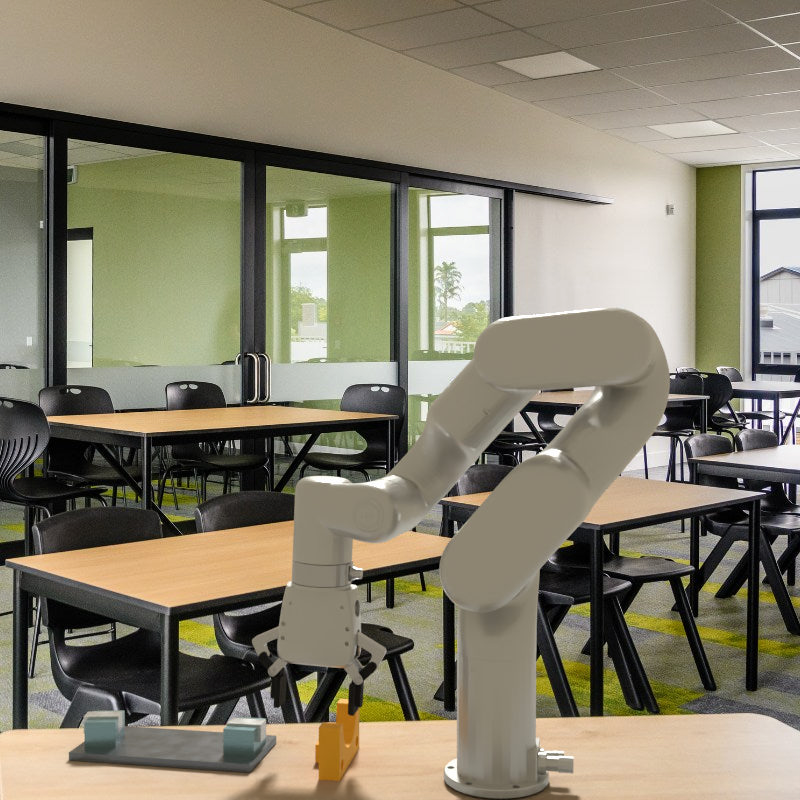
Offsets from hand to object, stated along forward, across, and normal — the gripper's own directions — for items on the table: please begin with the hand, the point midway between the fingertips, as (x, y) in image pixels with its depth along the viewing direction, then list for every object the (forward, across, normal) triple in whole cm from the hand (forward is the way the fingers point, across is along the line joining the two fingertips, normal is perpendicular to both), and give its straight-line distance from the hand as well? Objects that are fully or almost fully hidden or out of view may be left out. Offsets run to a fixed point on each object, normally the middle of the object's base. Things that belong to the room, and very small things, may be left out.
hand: (316, 708), depth 136 cm
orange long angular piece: (+7, -2, 0) cm, 7 cm away
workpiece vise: (+7, +19, 0) cm, 20 cm away
